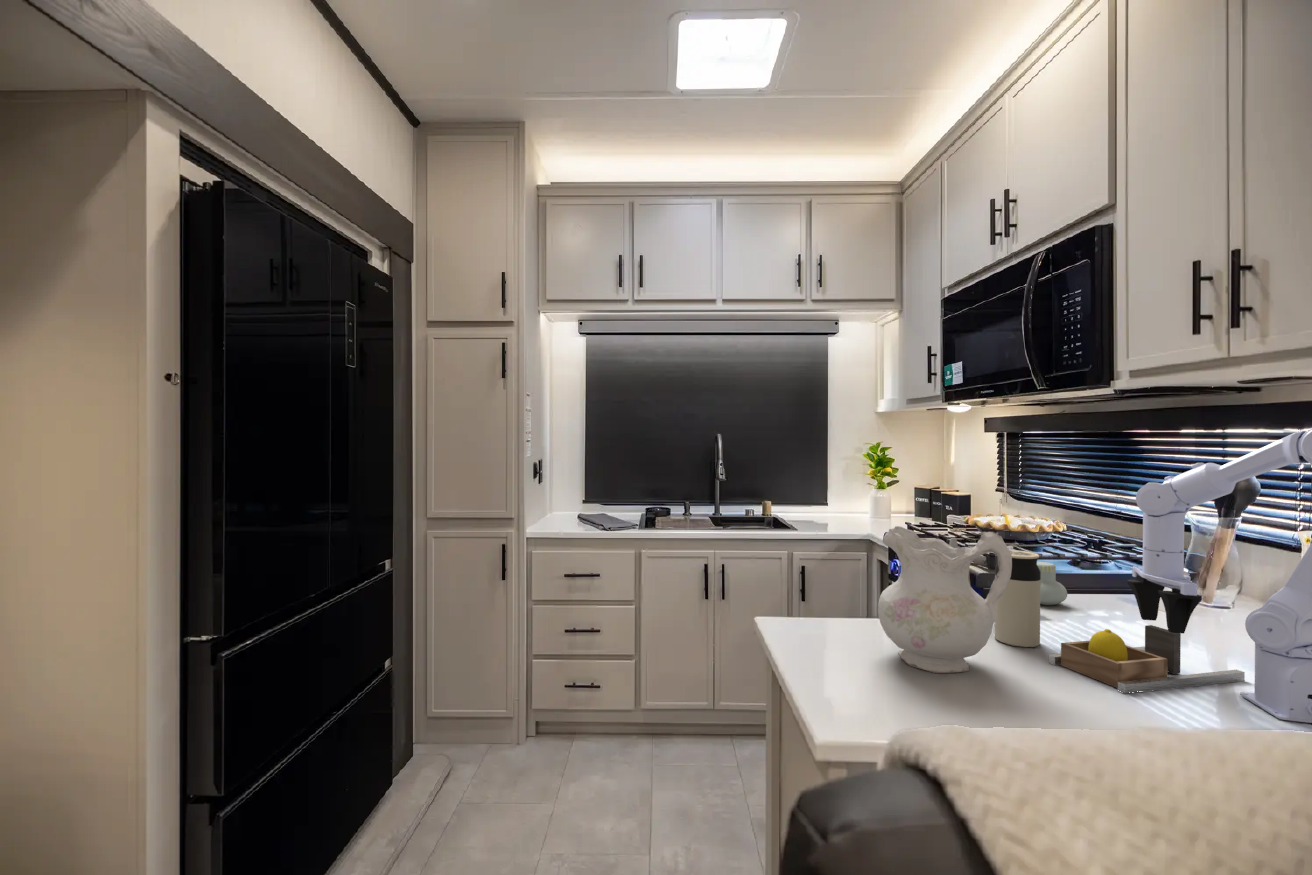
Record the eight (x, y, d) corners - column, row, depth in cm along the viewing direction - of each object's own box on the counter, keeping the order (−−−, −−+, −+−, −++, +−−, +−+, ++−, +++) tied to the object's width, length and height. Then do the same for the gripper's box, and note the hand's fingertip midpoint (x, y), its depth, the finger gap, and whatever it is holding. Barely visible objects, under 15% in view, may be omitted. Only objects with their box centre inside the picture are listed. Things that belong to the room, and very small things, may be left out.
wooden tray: (1117, 687, 101) (1117, 645, 101) (1060, 665, 111) (1061, 626, 111) (1199, 679, 105) (1200, 638, 105) (1137, 657, 116) (1138, 620, 116)
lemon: (1134, 682, 104) (1134, 635, 104) (1097, 679, 105) (1097, 632, 105) (1116, 670, 109) (1117, 625, 109) (1082, 668, 110) (1082, 623, 111)
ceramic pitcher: (993, 658, 118) (991, 527, 120) (1025, 689, 99) (1022, 534, 101) (874, 647, 124) (874, 523, 126) (883, 675, 105) (882, 528, 107)
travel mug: (1029, 650, 119) (1030, 558, 119) (987, 639, 126) (988, 551, 126) (1046, 643, 124) (1047, 554, 124) (1005, 633, 130) (1006, 548, 131)
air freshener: (1072, 608, 151) (1073, 567, 151) (1040, 608, 151) (1040, 567, 151) (1042, 597, 162) (1043, 559, 162) (1012, 597, 162) (1012, 559, 162)
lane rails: (1124, 694, 99) (1125, 684, 99) (1049, 662, 113) (1049, 654, 113) (1244, 680, 105) (1244, 672, 105) (1158, 652, 119) (1158, 645, 119)
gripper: (1218, 558, 102) (1217, 640, 102) (1161, 544, 117) (1160, 615, 117) (1170, 556, 104) (1169, 637, 104) (1120, 542, 118) (1119, 613, 118)
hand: (1162, 625), depth 110 cm, fingers open, 7 cm apart
